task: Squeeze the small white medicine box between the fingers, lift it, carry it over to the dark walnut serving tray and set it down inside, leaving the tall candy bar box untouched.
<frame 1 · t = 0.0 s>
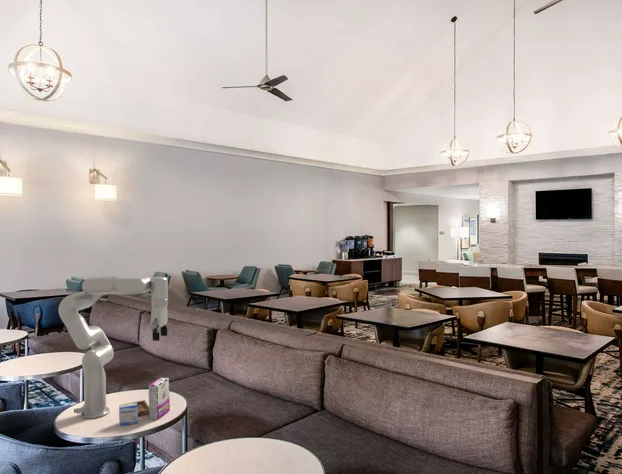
hand: (160, 338, 218), 37 cm above the table, tool pointing down, fingers open, 9 cm apart
walnut tray: (137, 411, 223), on the table
candy bar box: (159, 415, 219), on the table
medicine box: (128, 423, 210), on the table
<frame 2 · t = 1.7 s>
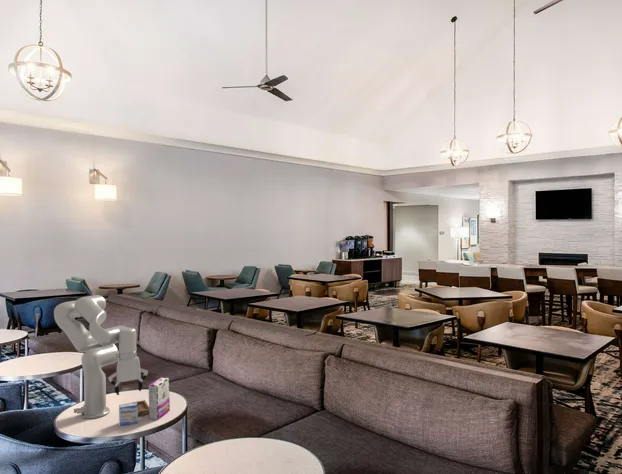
hand: (128, 392, 209), 14 cm above the table, tool pointing down, fingers open, 9 cm apart
nothing on the table moved.
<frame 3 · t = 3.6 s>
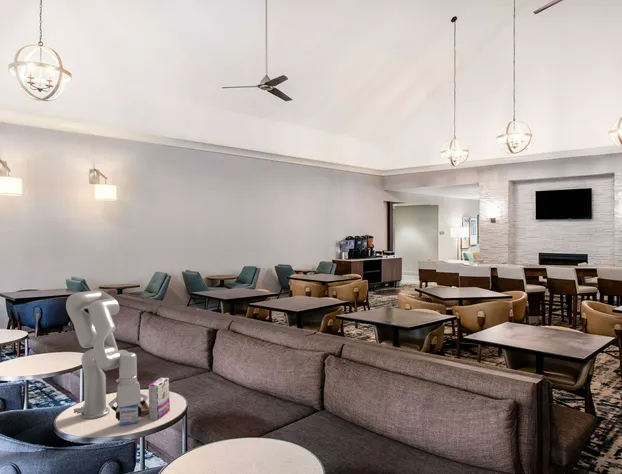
hand: (128, 417, 210), 3 cm above the table, tool pointing down, fingers closed on medicine box, 8 cm apart
medicine box: (128, 423, 210), on the table, touching gripper
everything else where it was.
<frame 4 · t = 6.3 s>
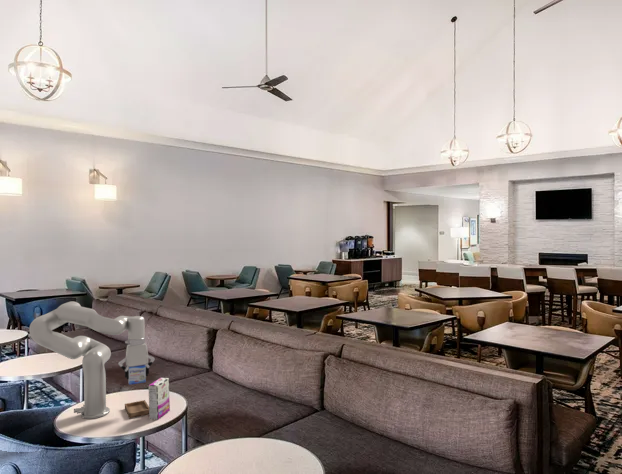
hand: (137, 377, 223), 17 cm above the table, tool pointing down, fingers closed on medicine box, 8 cm apart
medicine box: (137, 382, 223), point 14 cm above the table, touching gripper
everything else where it was.
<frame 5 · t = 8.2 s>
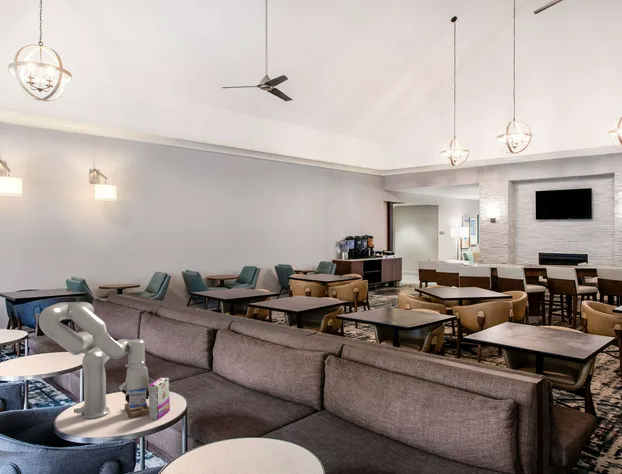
hand: (137, 400, 223), 6 cm above the table, tool pointing down, fingers closed on medicine box, 8 cm apart
medicine box: (137, 406, 223), point 3 cm above the table, touching gripper
everything else where it was.
when the fingers open (5 cm above the table, at t = 9.4 s): medicine box drops 1 cm, resting on walnut tray.
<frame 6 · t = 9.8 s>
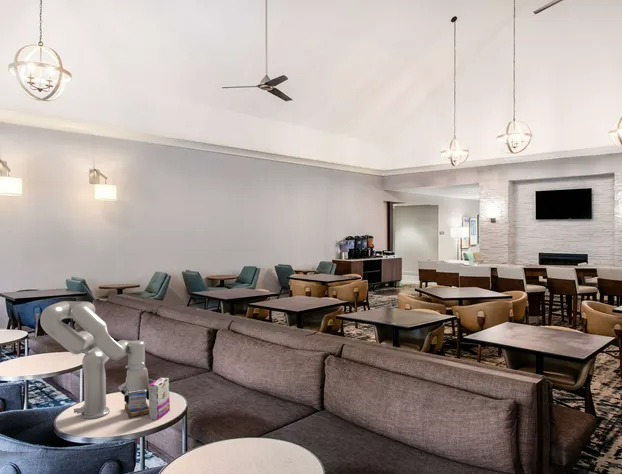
hand: (137, 400, 223), 5 cm above the table, tool pointing down, fingers open, 9 cm apart
medicine box: (137, 410, 223), point 1 cm above the table, touching walnut tray
everything else where it was.
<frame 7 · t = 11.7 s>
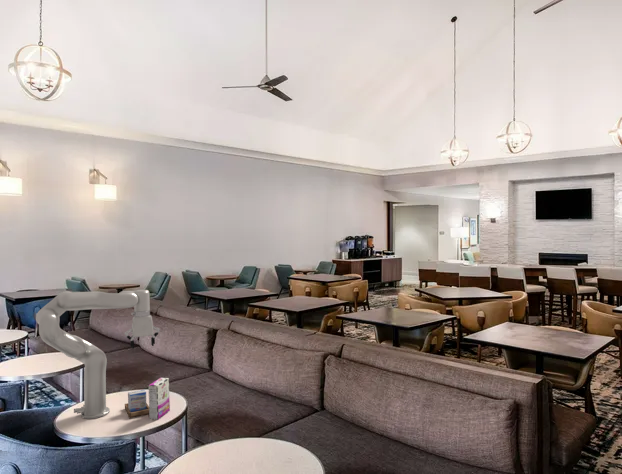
hand: (142, 346, 235), 29 cm above the table, tool pointing down, fingers open, 9 cm apart
nothing on the table moved.
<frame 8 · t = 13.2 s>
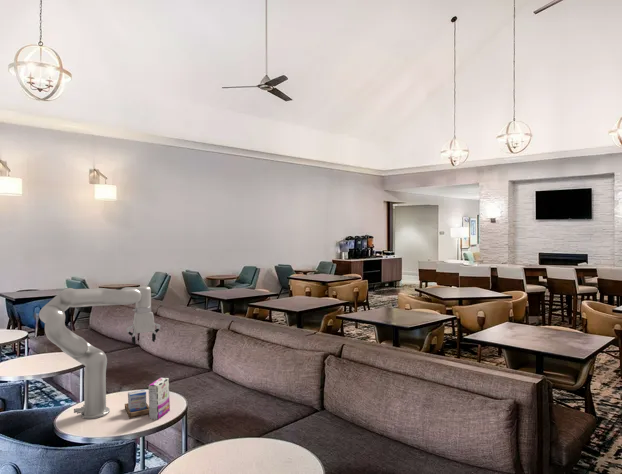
hand: (143, 342, 238), 30 cm above the table, tool pointing down, fingers open, 9 cm apart
nothing on the table moved.
at the end: medicine box inside the target area on the walnut tray (0.0 cm from its centre), point 0.8 cm above the walnut tray's base; medicine box tilted 0°; the gripper is holding nothing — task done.
